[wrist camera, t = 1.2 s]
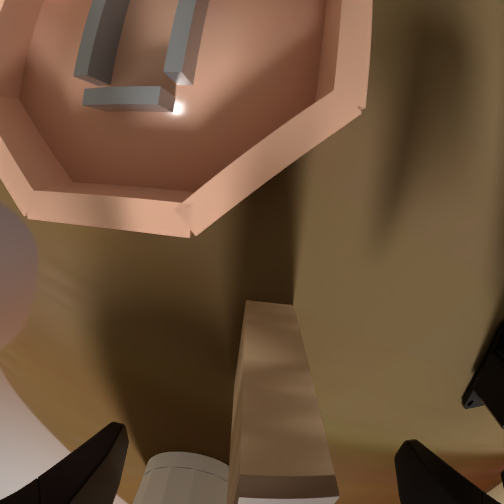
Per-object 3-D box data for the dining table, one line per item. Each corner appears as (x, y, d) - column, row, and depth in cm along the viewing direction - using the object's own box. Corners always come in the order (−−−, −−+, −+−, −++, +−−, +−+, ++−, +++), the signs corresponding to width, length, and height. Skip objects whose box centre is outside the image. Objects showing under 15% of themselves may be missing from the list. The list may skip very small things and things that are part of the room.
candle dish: (349, -68, 8) (368, -104, 5) (319, 232, 12) (341, 257, 9) (62, -60, 7) (36, -84, 4) (3, 198, 12) (-41, 211, 9)
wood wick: (293, 305, 13) (339, 496, 5) (275, 385, 15) (290, 555, 6) (245, 300, 13) (239, 497, 5) (234, 381, 15) (223, 554, 6)
